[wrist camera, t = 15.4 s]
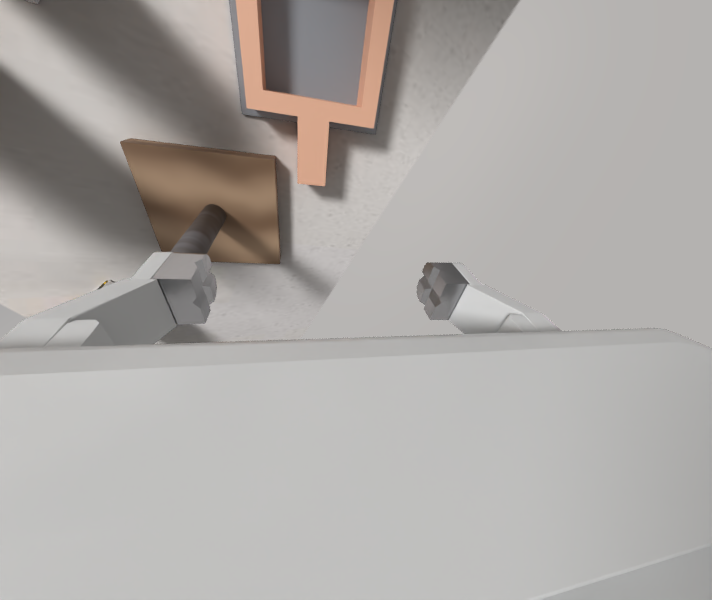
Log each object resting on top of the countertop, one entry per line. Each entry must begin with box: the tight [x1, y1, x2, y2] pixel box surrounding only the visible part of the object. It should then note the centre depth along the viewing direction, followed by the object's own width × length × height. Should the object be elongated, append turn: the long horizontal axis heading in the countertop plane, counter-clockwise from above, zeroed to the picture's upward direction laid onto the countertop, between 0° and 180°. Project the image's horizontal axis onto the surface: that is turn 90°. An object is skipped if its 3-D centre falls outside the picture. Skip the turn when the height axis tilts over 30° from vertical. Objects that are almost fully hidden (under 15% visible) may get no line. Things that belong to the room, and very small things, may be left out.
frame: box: [236, 0, 394, 186], centre depth 23 cm, size 18×12×3 cm, turn 172°
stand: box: [120, 138, 281, 264], centre depth 24 cm, size 13×14×18 cm
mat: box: [229, 0, 397, 134], centre depth 23 cm, size 14×14×1 cm
